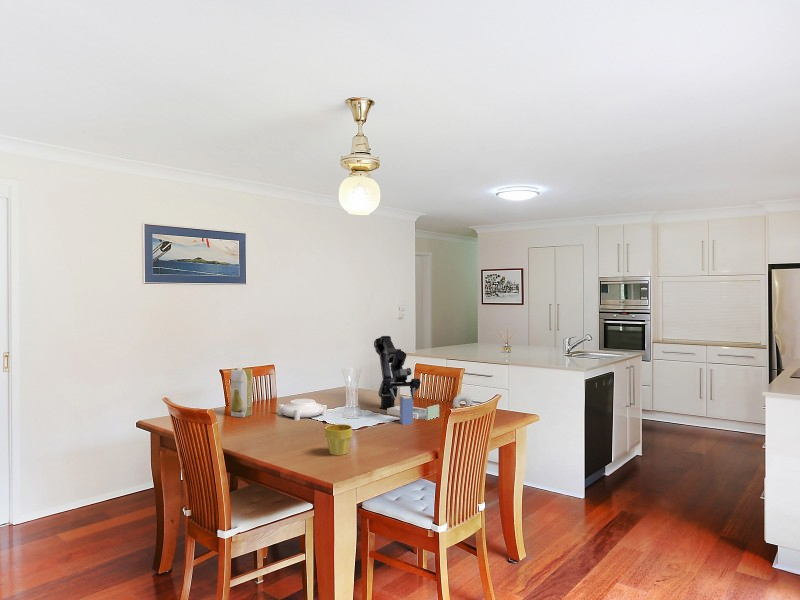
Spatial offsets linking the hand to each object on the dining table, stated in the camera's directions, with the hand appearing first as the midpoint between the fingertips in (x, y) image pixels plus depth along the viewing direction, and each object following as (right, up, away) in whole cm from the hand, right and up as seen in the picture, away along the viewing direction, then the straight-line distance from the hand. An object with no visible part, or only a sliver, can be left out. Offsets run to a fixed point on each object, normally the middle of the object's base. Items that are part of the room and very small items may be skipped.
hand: (404, 399), depth 263 cm
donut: (+30, -11, +18) cm, 36 cm away
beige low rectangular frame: (+3, -10, +16) cm, 19 cm away
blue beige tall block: (+1, -11, -3) cm, 11 cm away
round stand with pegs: (-50, -11, +14) cm, 53 cm away
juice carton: (-79, -10, +10) cm, 80 cm away
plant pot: (-25, -11, -52) cm, 59 cm away
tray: (+7, -10, +12) cm, 18 cm away
